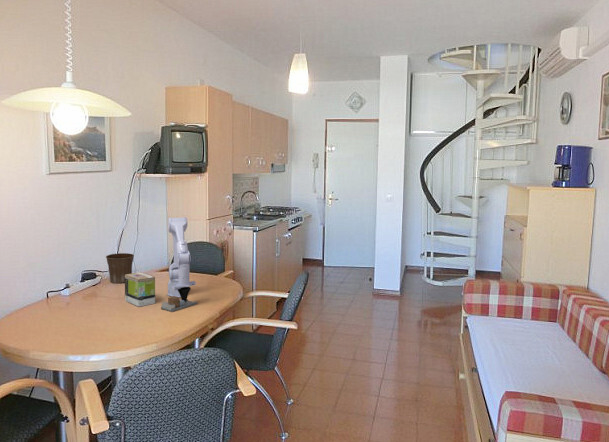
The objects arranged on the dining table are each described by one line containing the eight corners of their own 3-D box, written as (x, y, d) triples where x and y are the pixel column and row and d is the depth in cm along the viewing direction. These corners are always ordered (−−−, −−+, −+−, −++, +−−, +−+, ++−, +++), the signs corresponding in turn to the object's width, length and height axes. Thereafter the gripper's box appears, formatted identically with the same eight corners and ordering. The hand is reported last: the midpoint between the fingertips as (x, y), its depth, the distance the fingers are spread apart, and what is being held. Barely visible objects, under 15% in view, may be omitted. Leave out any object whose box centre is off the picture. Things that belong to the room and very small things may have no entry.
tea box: (156, 303, 251) (155, 276, 249) (138, 307, 244) (137, 279, 242) (141, 297, 261) (141, 271, 259) (124, 301, 254) (123, 274, 252)
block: (167, 307, 243) (167, 297, 242) (174, 305, 246) (174, 295, 246) (173, 308, 241) (173, 299, 240) (179, 306, 244) (179, 297, 243)
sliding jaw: (173, 304, 247) (173, 298, 246) (176, 303, 249) (176, 297, 248) (180, 306, 244) (180, 300, 243) (184, 305, 246) (184, 299, 245)
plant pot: (128, 285, 286) (128, 258, 284) (102, 284, 286) (101, 258, 284) (138, 278, 302) (137, 253, 300) (113, 277, 302) (112, 252, 300)
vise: (161, 309, 242) (161, 302, 241) (186, 301, 256) (186, 295, 255) (171, 312, 237) (171, 305, 237) (197, 304, 252) (197, 297, 251)
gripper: (178, 279, 239) (178, 305, 241) (199, 274, 251) (199, 299, 253) (168, 277, 243) (169, 303, 245) (190, 272, 255) (190, 296, 257)
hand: (184, 301), depth 249 cm, fingers closed
